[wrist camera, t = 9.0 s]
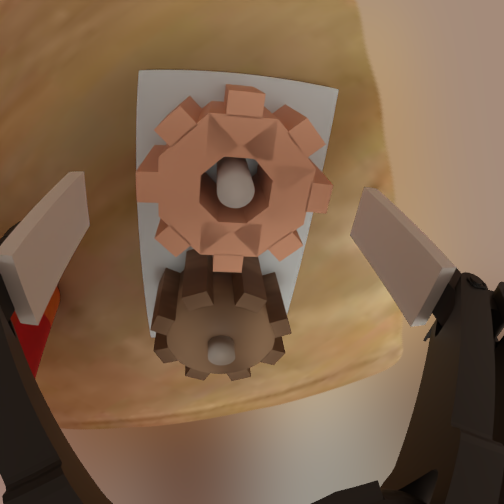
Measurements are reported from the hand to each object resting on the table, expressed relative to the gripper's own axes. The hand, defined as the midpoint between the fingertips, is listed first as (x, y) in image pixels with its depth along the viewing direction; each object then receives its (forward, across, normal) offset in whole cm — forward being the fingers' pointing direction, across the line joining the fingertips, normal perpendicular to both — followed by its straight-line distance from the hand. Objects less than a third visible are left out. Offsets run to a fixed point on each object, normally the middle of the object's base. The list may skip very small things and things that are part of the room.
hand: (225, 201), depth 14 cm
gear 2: (+6, +1, -11) cm, 13 cm away
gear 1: (+6, +1, 0) cm, 6 cm away
